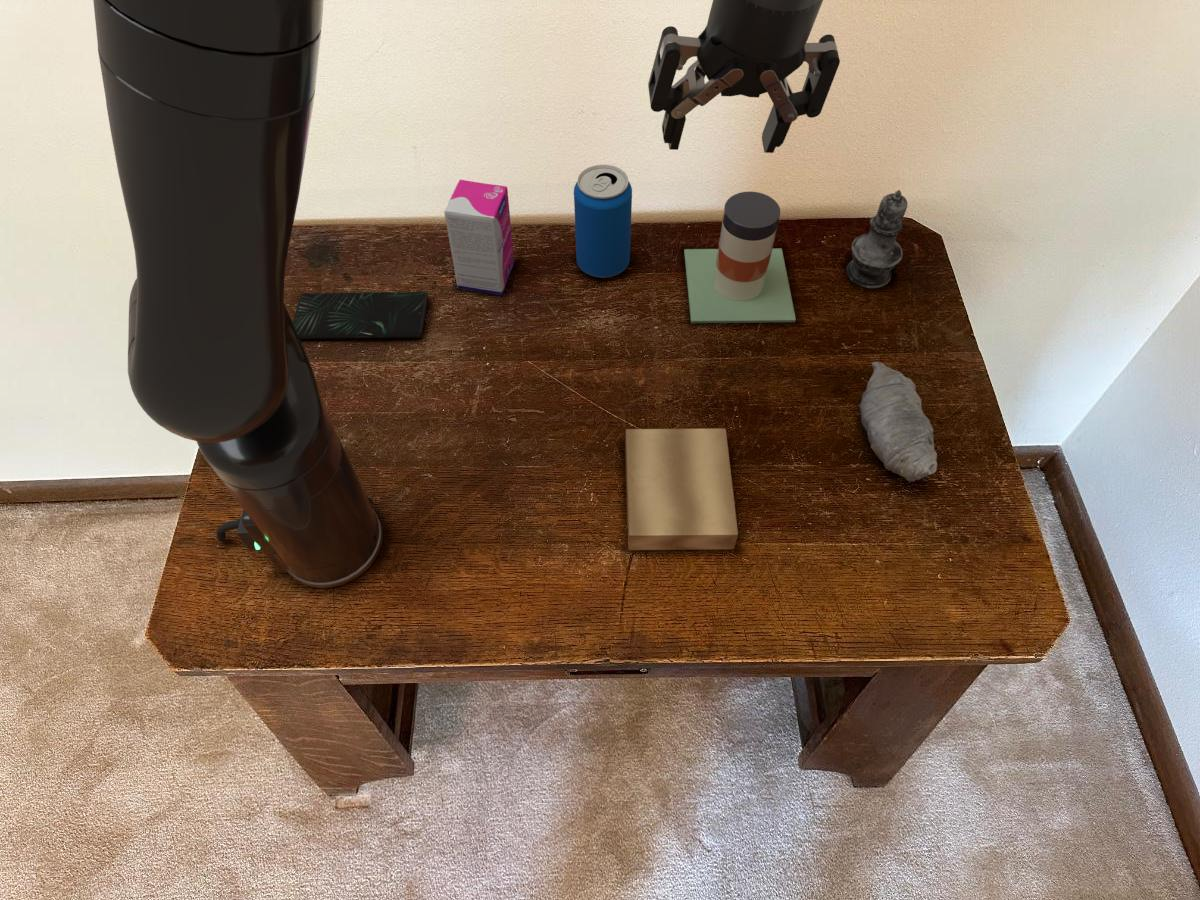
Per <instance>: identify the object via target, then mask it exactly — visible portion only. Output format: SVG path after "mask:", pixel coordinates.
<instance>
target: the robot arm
mask: <svg viewBox="0 0 1200 900" xmlns="http://www.w3.org/2000/svg"><path fill="white" fill-rule="evenodd" d="M92 1H93V12H94V20H95V31H96V42H97V52H98V59H99V65H100V71H101V72H100V73H101V78H102V83H103V89H104V90H103V91H104V94H105V95H104V96H105V105H106V112H107V117H108V123H109V130H110V136H111V141H112V146H113V152H114V159H115V164H116V169H117V174H118V179H119V184H120V188H121V193H122V197H123V203H124V207H125V211H126V215H127V220H128V224H129V228H130V233H131V237H132V245H133V250H134V258H135V267H136V278H135V280H134V282H133V284H132V287H131V290H130V295H129V300H128V325H127V326H128V327H127V328H128V329H127V330H128V331H127V375H128V380H129V385H130V389H131V391H132V393H133V397H134V398H135V400H136V401H137V403H138V405H139V406H140V407H141V409H142V410H143V412H144V413H145V414H146V415H147V416H148V417H149V418H150V419H151V420H152V421H153V422H155V423H156V424H157V425H158V426H160V427H161V428H163V429H165V430H167V431H168V432H169V433H171V434H173V435H175V436H179V437H181V438H183V439H185V440H191V441H194V442H196V444H197V446H198V449H199V452H200V453H201V455H202V457H203V458H204V460H205V461H206V463H207V464H208V466H209V467H210V468H211V469H212V471H213V472H214V474H215V475H216V476H217V478H219V480H220V481H221V483H222V484H223V485H224V487H225V488H226V489H227V491H228V492H229V493H230V494H231V495H232V497H233V498H234V500H235V501H236V503H237V504H238V505H239V507H240V508H241V509H242V512H241V516H240V519H235V520H231V521H227V522H225V523H223V524H221V525H219V526H218V528H217V529H216V539H217V541H218V542H224V541H225V540H226V538H227V535H226V532H228V531H231V530H235V529H237V530H236V535H237V536H238V538H240V540H241V541H242V542H243V544H244V545H245V546H246V547H247V548H248V550H256V551H258V550H261V551H262V553H263V554H264V555H265V557H266V558H267V559H268V561H269V562H270V563H271V565H272V566H273V567H274V568H275V569H276V571H277V572H278V573H279V574H289V575H290V576H291V577H292V578H293V579H294V580H296V582H298V583H300V584H302V585H304V586H307V587H311V588H316V589H331V588H336V587H341V586H344V585H346V584H349V583H350V582H353V581H354V580H356V579H357V578H359V577H360V576H362V575H363V574H364V573H365V572H367V570H369V568H371V566H372V565H373V564H374V562H375V561H376V559H377V558H378V556H379V554H380V552H381V549H382V547H383V540H384V532H383V526H382V523H381V521H380V519H379V516H378V514H377V513H376V511H375V510H374V509H373V507H372V506H374V507H375V508H376V507H377V506H376V505H375V502H374V500H372V499H371V498H370V497H369V496H368V495H367V493H366V492H365V490H364V487H363V485H362V484H361V483H362V482H361V481H360V479H359V477H358V475H357V473H356V471H355V468H354V467H353V465H352V463H351V460H350V458H349V456H348V454H347V452H346V450H345V447H344V445H343V443H342V442H341V440H340V437H339V435H338V434H337V431H336V429H335V427H334V425H333V422H332V421H331V419H330V417H329V415H328V413H327V410H326V409H325V405H324V402H323V400H322V396H321V392H320V390H319V385H318V381H317V377H316V375H315V373H314V369H313V366H312V365H311V362H310V360H309V357H308V355H307V353H306V350H305V348H304V345H303V343H302V341H301V339H300V338H299V336H298V334H297V332H296V329H295V327H294V325H293V320H292V318H291V315H290V313H289V311H288V309H287V306H286V305H285V276H286V265H287V259H288V253H289V247H290V243H291V239H292V238H291V237H292V233H293V227H294V223H295V217H296V213H297V209H298V208H297V206H298V203H299V196H300V192H301V191H300V190H301V184H302V180H303V179H302V178H303V172H304V166H305V159H306V155H307V154H306V153H307V148H308V147H307V146H308V140H309V134H310V126H311V120H312V114H313V108H314V102H315V94H316V87H317V86H316V85H317V75H318V66H319V56H320V47H321V38H322V26H323V15H324V0H92ZM823 2H824V0H712V3H711V6H710V11H709V14H708V19H707V23H706V26H705V27H704V29H703V30H702V31H701V33H700V34H699V35H698V36H697V37H692V36H686V35H685V36H684V35H679V31H678V29H677V28H676V27H675V26H666V27H664V28H663V30H662V32H661V35H660V37H659V38H660V39H659V42H658V46H657V49H656V53H655V57H654V60H653V64H652V68H651V73H650V76H649V80H648V84H647V88H648V95H649V104H650V109H651V111H653V112H656V113H659V112H662V111H664V115H663V119H662V123H661V132H662V138H663V139H662V140H663V142H664V144H667V145H668V150H672V151H675V150H676V151H677V150H679V148H680V143H681V139H682V135H683V132H684V128H685V124H686V121H687V118H686V116H687V115H688V114H689V113H690V112H692V110H694V109H695V108H697V106H700V107H704V106H706V105H707V104H708V103H710V102H711V101H712V100H713V99H715V97H717V96H718V95H719V94H720V96H721V97H735V96H744V97H747V98H760V96H761V95H764V94H766V93H767V94H768V96H769V98H770V100H771V103H772V107H771V109H770V112H769V115H768V118H767V120H766V122H765V125H764V128H763V130H762V133H761V142H762V143H761V144H762V147H763V153H766V154H773V153H774V152H775V150H776V148H780V147H781V146H782V145H783V144H784V142H785V139H786V137H787V135H788V132H789V130H790V128H791V125H792V123H794V122H795V121H796V120H797V119H798V117H800V116H805V115H806V116H807V118H816V117H818V116H820V114H821V113H822V111H823V108H824V105H825V103H826V100H827V98H828V95H829V92H830V89H831V87H832V84H833V82H834V79H835V77H836V74H837V71H838V68H839V67H840V64H841V60H840V55H839V50H838V47H837V43H836V39H835V37H834V35H832V34H831V33H830V34H825V35H823V36H821V37H820V38H819V40H818V42H808V40H809V37H810V35H811V33H812V30H813V27H814V25H815V22H816V20H817V17H818V14H819V12H820V9H821V7H822V4H823ZM694 57H696V60H695V61H694V62H693V63H692V64H691V65H689V67H687V69H686V73H685V74H684V76H682V77H681V78H680V79H678V80H677V81H676V82H675V83H674V80H675V76H676V73H677V71H682V70H683V69H684V66H685V65H686V64H687V61H688V60H689V59H691V58H694ZM804 62H805V63H807V69H808V71H807V75H806V77H805V80H804V84H803V86H802V90H801V91H796V92H794V91H793V90H792V89H793V88H792V87H791V85H790V84H789V81H788V79H787V78H788V77H789V76H790V75H792V74H793V73H794V72H795V71H797V70H798V69H799V68H800V67H801V66H803V64H804ZM705 78H707V80H708V81H707V82H705ZM673 83H674V84H673Z"/></svg>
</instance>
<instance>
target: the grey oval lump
mask: <svg viewBox="0 0 1200 900" xmlns="http://www.w3.org/2000/svg"><path fill="white" fill-rule="evenodd" d="M871 367H872V369H873V372H872V375H871V376H870V378H869V380H868V381H867V385H866V389H865V391H864V392H863V393H862V395H861V401H860V403H859V411H860V415H861V418H860V421H861V425H862V426H863V427H864V430H865V431H866V435H867V439H868V440H867V441H868V443H869V444H870V449H871V450H872V451H873V452H874V454H875V456H877V458H878V459H879V460H880V462H881V463H883V467H884V469H885V470H887V471H890V472H892V473H893V474H897V475H898V476H900V477H902V478H904V479H905V480H906V481H908V482H915V481H919V480H921V479H923V478H926V477H928V476H930V475H932V474H933V475H934V474H935V473H936V472H937V468H938V461H937V458H938V453H937V451H936V450H935V442H934V440H935V439H934V428H933V426H932V424H931V421H930V419H929V418H928V417H927V416H926V414H925V413H924V411H923V409H922V399H921V396H920V395H919V394H918V393H917V390H916V384H915V383H914V381H913V380H912V379H910V377H907V376H905V375H904V374H903V373H902V372H900V371H898V370H895V369H893V368H890V367H889V366H886V365H885V364H884V363H883V362H880V361H872V362H871Z"/></svg>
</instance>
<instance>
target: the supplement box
mask: <svg viewBox="0 0 1200 900" xmlns="http://www.w3.org/2000/svg"><path fill="white" fill-rule="evenodd" d="M508 189H509V188H508V186H506V185H500V184H492V183H484V182H479V181H473V180H466V179H459V180H458V182H457V184H456V186H455V187H454V190H453V192H452V194H451V197H450V198H449V200H448V201H447V202H448V203H447V205H446V207H445V209H444V211H443V212H444V218H445V223H446V229H447V230H446V231H447V235H448V241H449V246H450V252H451V258H452V264H453V269H454V275H455V283H456V288H457V289H458V290H464V291H473V292H478V293H486V294H489V295H490V294H491V295H496V296H497V295H498V296H503V294H504V291H505V287H506V284H507V282H508V279H509V277H510V274H511V272H512V269H513V268H514V266H515V256H514V245H513V235H512V226H511V225H512V223H511V213H510V201H509V192H508Z"/></svg>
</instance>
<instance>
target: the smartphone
mask: <svg viewBox="0 0 1200 900" xmlns="http://www.w3.org/2000/svg"><path fill="white" fill-rule="evenodd" d="M428 301H429V293H428V292H427V291H379V292H377V291H376V292H375V291H374V292H373V291H372V292H370V291H369V292H314V293H313V292H312V293H310V292H309V293H307V292H306V293H305V292H304V293H301V294H300V296H299V299H298V303H297V306H296V310H295V312H294V317H293V320H292V322H293V325H294V327H295V329H296V332H297V334H298V336H299V338H300V340H320V339H321V340H322V339H323V340H325V339H326V340H327V339H329V340H331V339H336V340H337V339H389V338H390V339H409V338H421V337H422V336H423V330H424V324H425V319H426V314H427V306H428Z"/></svg>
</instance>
